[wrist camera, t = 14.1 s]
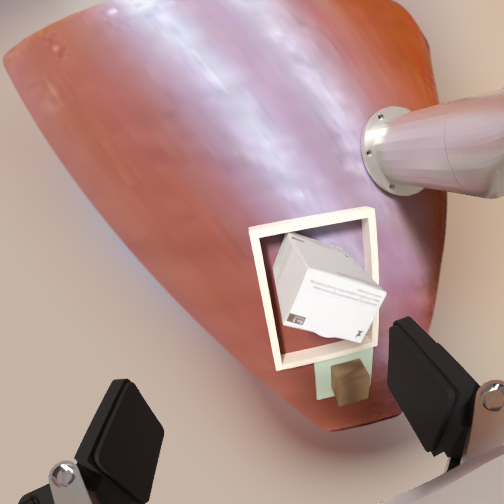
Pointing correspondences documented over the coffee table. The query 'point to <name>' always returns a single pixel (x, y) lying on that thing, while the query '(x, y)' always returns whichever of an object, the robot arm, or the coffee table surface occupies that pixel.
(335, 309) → the skincare box
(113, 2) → the coffee table surface
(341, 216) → the cream rectangular frame
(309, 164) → the coffee table surface
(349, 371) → the walnut block
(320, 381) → the tile
